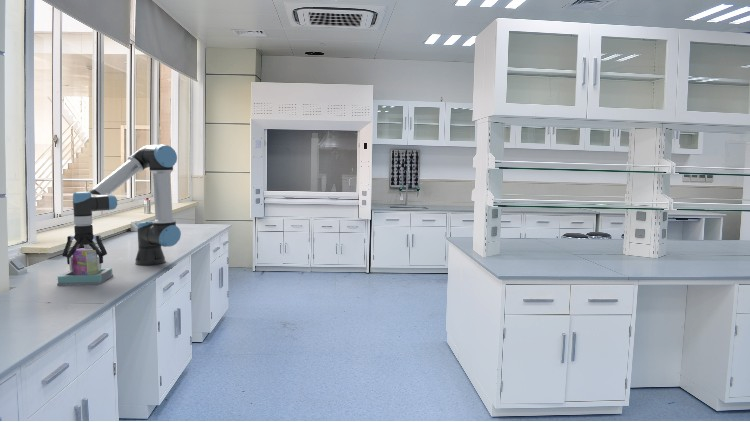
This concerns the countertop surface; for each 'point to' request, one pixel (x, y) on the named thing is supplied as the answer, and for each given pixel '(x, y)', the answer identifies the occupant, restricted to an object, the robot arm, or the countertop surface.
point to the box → (85, 262)
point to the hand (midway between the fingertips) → (85, 270)
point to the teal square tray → (84, 278)
